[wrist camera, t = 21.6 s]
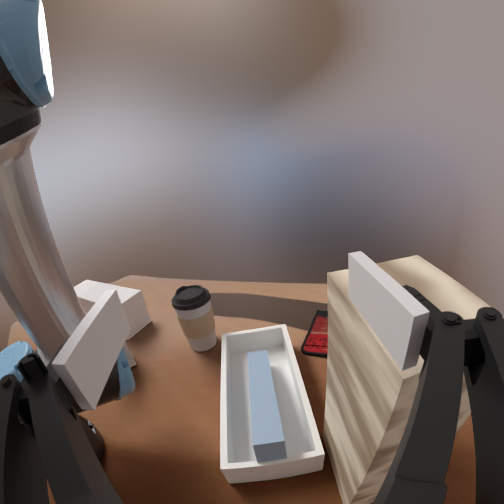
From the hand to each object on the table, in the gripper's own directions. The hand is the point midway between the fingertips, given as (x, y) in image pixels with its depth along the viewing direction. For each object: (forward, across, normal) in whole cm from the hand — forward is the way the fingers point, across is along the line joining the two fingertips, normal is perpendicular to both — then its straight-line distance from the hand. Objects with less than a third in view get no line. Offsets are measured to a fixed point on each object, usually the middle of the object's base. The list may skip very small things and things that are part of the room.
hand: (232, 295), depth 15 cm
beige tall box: (+3, +14, -35) cm, 38 cm away
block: (+18, 0, -32) cm, 36 cm away
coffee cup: (+43, -13, -35) cm, 57 cm away
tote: (+21, 0, -35) cm, 41 cm away
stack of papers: (+59, -47, -36) cm, 84 cm away
